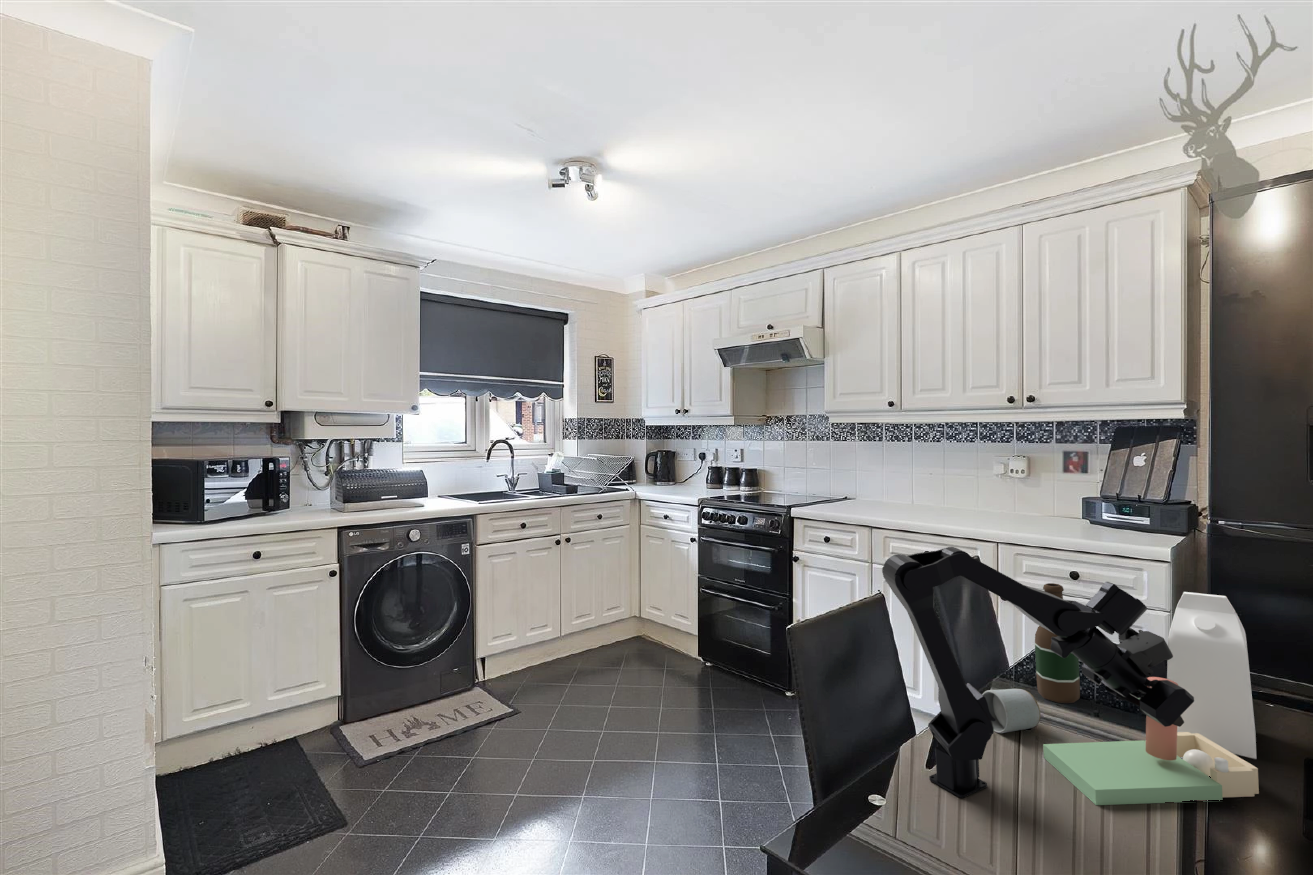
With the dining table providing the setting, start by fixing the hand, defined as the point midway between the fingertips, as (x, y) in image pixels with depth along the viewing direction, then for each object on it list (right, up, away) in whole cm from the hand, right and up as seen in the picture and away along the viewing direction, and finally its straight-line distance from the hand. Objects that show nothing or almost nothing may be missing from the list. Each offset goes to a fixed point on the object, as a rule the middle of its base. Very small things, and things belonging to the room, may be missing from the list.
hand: (1171, 717), depth 103 cm
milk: (+17, -9, +12) cm, 23 cm away
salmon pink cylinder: (-2, -6, 0) cm, 6 cm away
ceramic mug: (-16, -11, +20) cm, 28 cm away
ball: (+4, -7, 0) cm, 9 cm away
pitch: (-7, -10, +1) cm, 12 cm away
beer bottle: (+1, -9, +31) cm, 32 cm away
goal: (+5, -9, 0) cm, 11 cm away
